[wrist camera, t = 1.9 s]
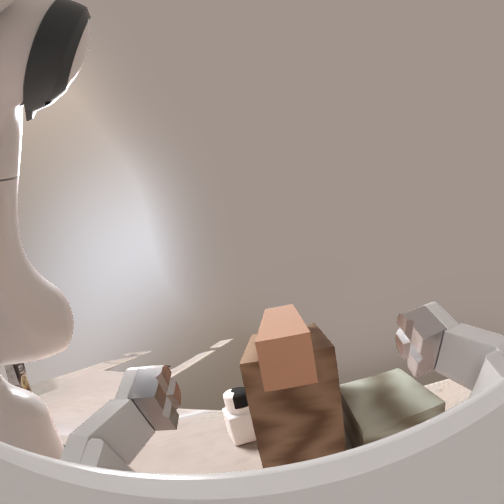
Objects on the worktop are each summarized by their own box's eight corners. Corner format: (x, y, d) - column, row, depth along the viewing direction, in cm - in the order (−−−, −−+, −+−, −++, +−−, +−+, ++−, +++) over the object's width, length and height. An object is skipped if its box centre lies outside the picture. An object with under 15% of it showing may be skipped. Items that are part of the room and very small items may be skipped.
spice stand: (277, 525, 25) (238, 366, 28) (277, 463, 42) (251, 334, 45) (435, 483, 24) (443, 317, 27) (398, 435, 41) (390, 305, 43)
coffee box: (26, 402, 75) (15, 364, 77) (14, 402, 73) (3, 364, 75) (33, 396, 84) (23, 360, 85) (22, 396, 82) (12, 360, 83)
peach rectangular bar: (264, 392, 20) (254, 342, 20) (270, 332, 44) (265, 307, 44) (318, 382, 20) (310, 331, 20) (296, 327, 43) (291, 302, 44)
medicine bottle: (257, 425, 60) (247, 381, 61) (267, 437, 53) (257, 390, 55) (228, 433, 58) (216, 389, 59) (235, 446, 51) (223, 399, 52)
